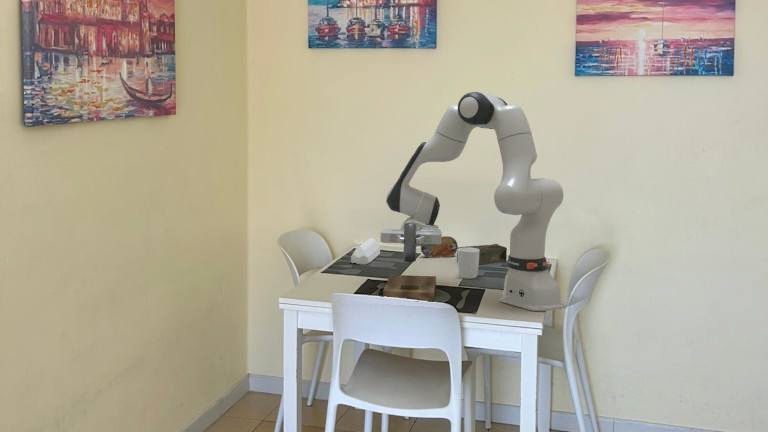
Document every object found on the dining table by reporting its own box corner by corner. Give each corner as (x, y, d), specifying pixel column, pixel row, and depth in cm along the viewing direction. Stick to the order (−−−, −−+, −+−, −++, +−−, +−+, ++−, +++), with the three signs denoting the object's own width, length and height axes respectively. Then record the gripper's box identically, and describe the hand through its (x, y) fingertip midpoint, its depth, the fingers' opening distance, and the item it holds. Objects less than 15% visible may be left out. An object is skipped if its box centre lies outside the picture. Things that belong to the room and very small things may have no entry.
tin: (421, 258, 343) (422, 237, 341) (419, 257, 346) (419, 236, 344) (457, 257, 346) (458, 236, 345) (455, 255, 349) (455, 235, 348)
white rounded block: (359, 243, 353) (344, 254, 330) (374, 235, 351) (360, 246, 328) (368, 259, 353) (353, 271, 330) (382, 251, 351) (369, 263, 328)
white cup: (477, 279, 306) (478, 252, 304) (455, 278, 307) (456, 251, 306) (479, 275, 314) (480, 248, 312) (458, 273, 315) (458, 247, 314)
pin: (417, 261, 278) (418, 224, 276) (406, 262, 276) (407, 225, 274) (412, 259, 281) (412, 222, 279) (401, 259, 280) (401, 223, 278)
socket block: (435, 284, 297) (436, 276, 297) (433, 301, 274) (433, 292, 273) (389, 283, 299) (389, 274, 298) (383, 300, 275) (383, 291, 275)
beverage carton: (507, 262, 338) (508, 245, 337) (467, 266, 329) (467, 249, 328) (495, 258, 345) (495, 242, 344) (455, 263, 336) (455, 246, 335)
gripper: (382, 223, 291) (377, 230, 277) (442, 225, 289) (441, 232, 275) (381, 241, 292) (377, 249, 278) (442, 243, 290) (440, 251, 276)
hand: (409, 241), depth 277 cm, fingers closed on pin, 4 cm apart
